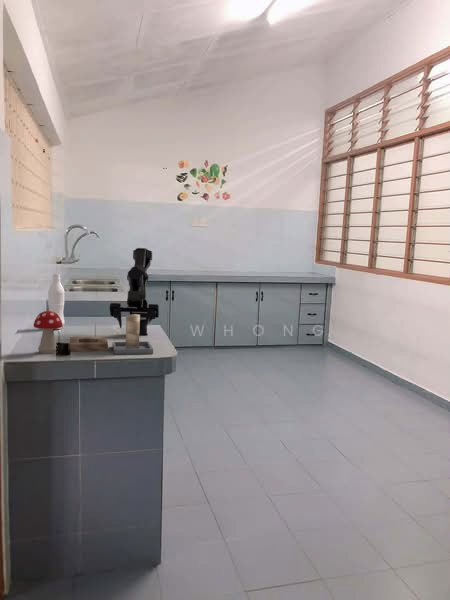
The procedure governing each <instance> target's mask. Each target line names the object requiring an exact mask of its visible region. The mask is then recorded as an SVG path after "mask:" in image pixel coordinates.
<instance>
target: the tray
mask: <svg viewBox="0 0 450 600" xmlns="http://www.w3.org/2000/svg"><path fill="white" fill-rule="evenodd" d="M111 347H112V351H113V355H118V356H119V355H120V356H121V355H122V356H123V355H154V348H153V346H152V344H151V342H150V341H139V349H126V341H112V345H111Z"/></svg>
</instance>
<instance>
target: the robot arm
mask: <svg viewBox="0 0 450 600" xmlns="http://www.w3.org/2000/svg"><path fill="white" fill-rule="evenodd" d="M132 259H133V260H134V264H133V265H134V266H132V267H131V268H130V270H128V272H127V275H126V278H127V279H126V280H127V282H128V286H129V288H128V290H127V301H126V305H127V306H123V305H121V302H110V304H109V313H110V314H109V315H110V316H111V317H113V318H114V319H116V321H117V322H118V325H119V329H122V326H123V325H122V324H123V323H122V313H129V314H137V315H140V330H139V336H148V334H149V333H148V326H149V324H150V323H152V321H153V320H155V319H156V318H159V315H160V306H159V304H158V303H148V300H147V299H146V298H147V290H146V289H147V288H146V287H147V282H148V280H149V274H148V271H147V270H148V269H149V267H150V266H151V264H152V263H151V262H152V261H153V251H152V250H149V249H148V248H146V247H137V248H135V249H134V250H132Z"/></svg>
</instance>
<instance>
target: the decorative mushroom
mask: <svg viewBox="0 0 450 600" xmlns="http://www.w3.org/2000/svg"><path fill="white" fill-rule="evenodd" d="M62 326H63V324H62V321H61V319H60V317H59V315H58V314H56V313H55V312H52V311H49V310H45V311H42V312H40V313H39V314H38V315H37V316H36V317H35V320H34V323H33V328H35V329H38V330H42V335H41V338H40V343H39V346H38V348H37V349H38V353H39V354H46V355H49V354H56V353H57V352H56V346H57V347H58V345H57V341H56V337H55V333H54V330H57V329H58V328H60V327H62ZM53 329H54V330H53Z"/></svg>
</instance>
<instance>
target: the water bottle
mask: <svg viewBox="0 0 450 600" xmlns="http://www.w3.org/2000/svg"><path fill="white" fill-rule="evenodd" d="M47 298H48V299H47V307H48V311H52V312H55V313H56V314H58V315H59V317H60V319H61V321H62V324H63V326H62V327H60V328H58V329H60V330H62V329H63V328H64V327H65V323H66V322H65V316H64V309H65V308H64V307H65V289H64V286H63V285H62V283H61V274H60V273H52V281H51V284H50V285H49V287H48V291H47Z"/></svg>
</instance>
